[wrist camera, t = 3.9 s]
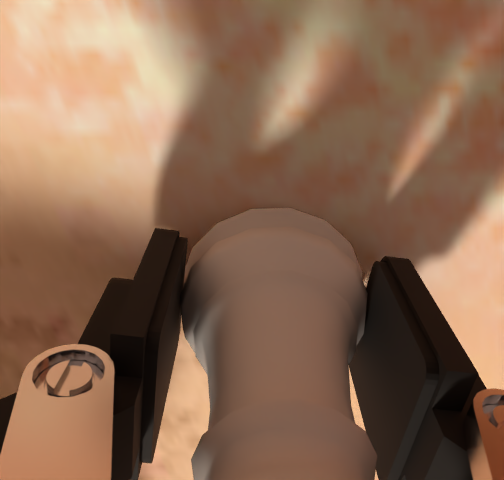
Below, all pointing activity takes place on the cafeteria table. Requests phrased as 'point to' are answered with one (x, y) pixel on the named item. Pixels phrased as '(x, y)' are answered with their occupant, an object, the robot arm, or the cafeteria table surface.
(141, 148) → the cafeteria table surface
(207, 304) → the rook chess piece
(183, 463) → the cafeteria table surface
